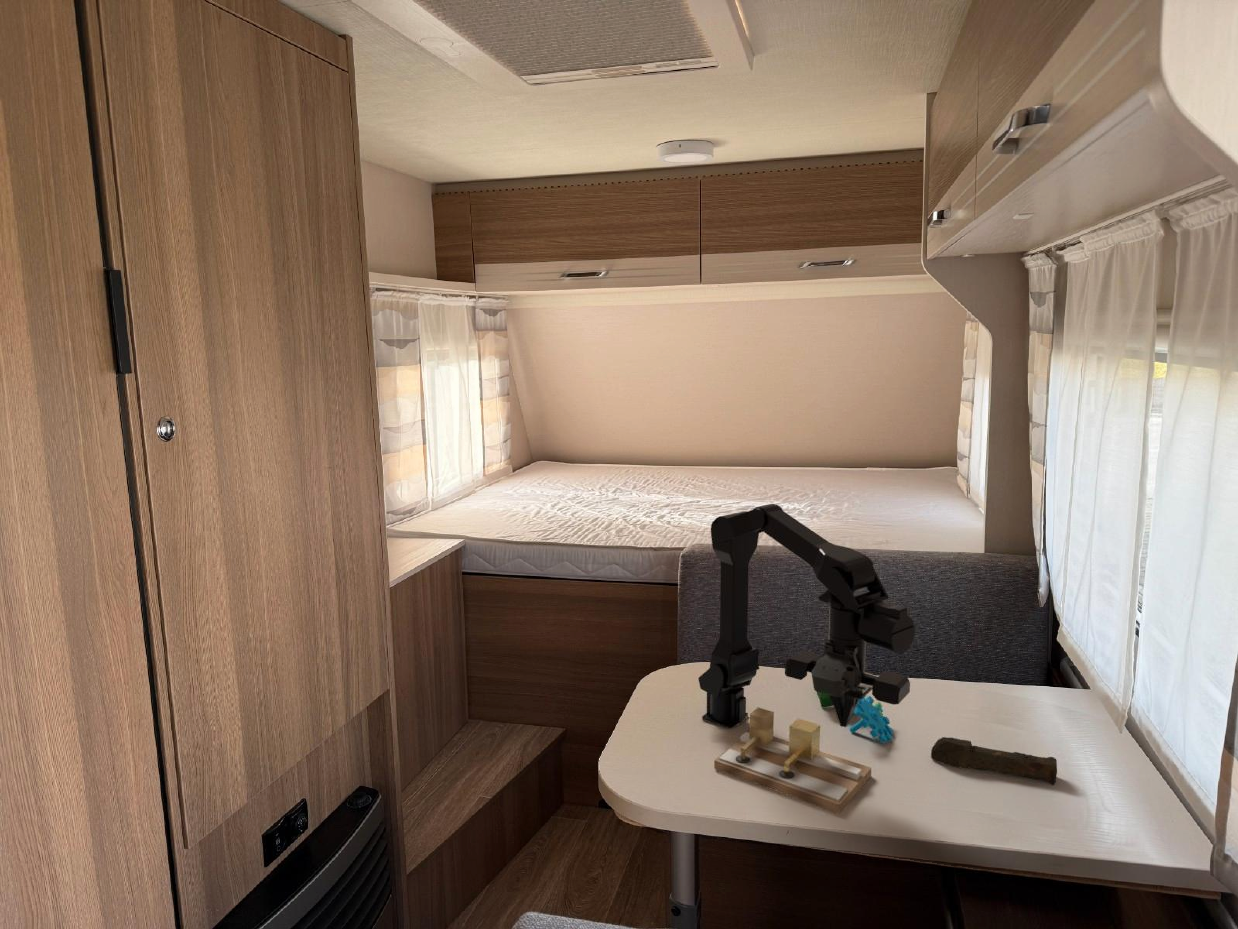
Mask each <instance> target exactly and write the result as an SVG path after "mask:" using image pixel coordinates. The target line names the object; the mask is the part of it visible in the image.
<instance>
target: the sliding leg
mask: <svg viewBox="0 0 1238 929" xmlns="http://www.w3.org/2000/svg"><path fill="white" fill-rule="evenodd" d="M788 732H789V734H788V741H789V754H791V755H792V756H791V757H790V758H789V759H788V760H787V761H786V762H785V763H784V774H785V775H789V768H790V767H791V766H792V765H793V764H794V763H795V762H796V761H797V760H798V759H799V758H800V757H801V758H804V759H807V760H810V761H812V760H813V759H814V758H815V757H816V756H817V755H818V754H819V751H820V747H821V745H820V744H821V743H820V742H821V738H820V737H821V724H819V723H814V722H811V721H808V720H805V719H802V718H797V719H795V720H794V721H793V722H792V723H791V724H790V725H789V730H788Z"/></svg>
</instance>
